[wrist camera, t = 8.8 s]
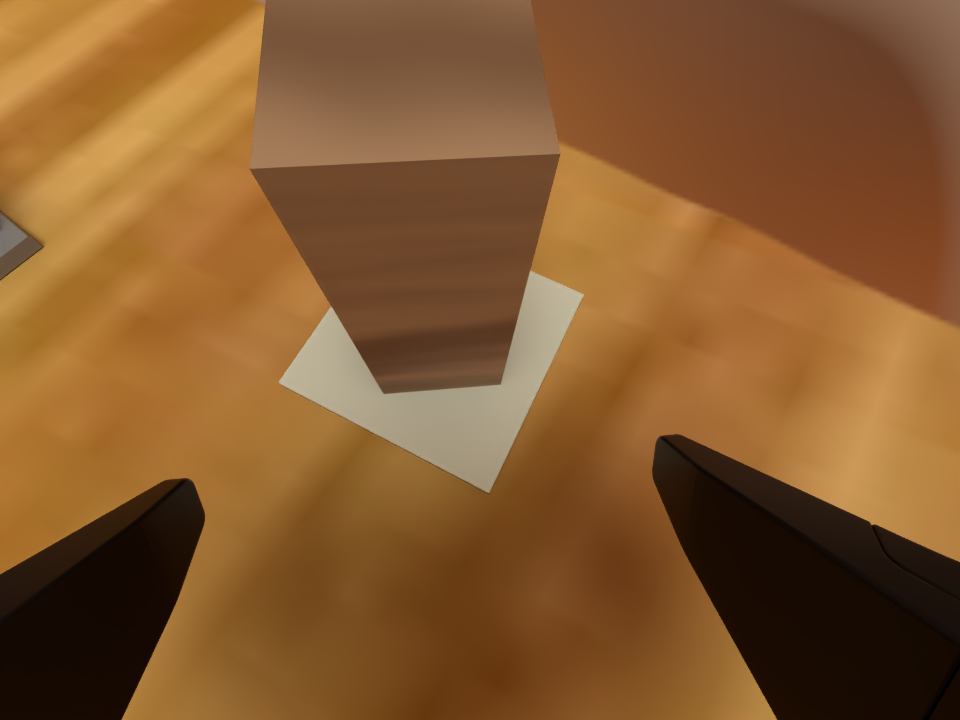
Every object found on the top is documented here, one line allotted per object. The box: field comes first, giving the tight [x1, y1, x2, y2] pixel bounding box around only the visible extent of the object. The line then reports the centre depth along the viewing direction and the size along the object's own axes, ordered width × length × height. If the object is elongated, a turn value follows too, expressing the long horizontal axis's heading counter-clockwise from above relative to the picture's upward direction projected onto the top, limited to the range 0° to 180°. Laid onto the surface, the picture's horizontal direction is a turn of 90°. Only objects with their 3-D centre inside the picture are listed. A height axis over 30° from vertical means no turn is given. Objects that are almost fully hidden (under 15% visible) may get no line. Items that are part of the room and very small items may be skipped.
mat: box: [278, 271, 584, 494], centre depth 21 cm, size 10×10×1 cm
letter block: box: [250, 0, 560, 394], centre depth 14 cm, size 5×5×13 cm
